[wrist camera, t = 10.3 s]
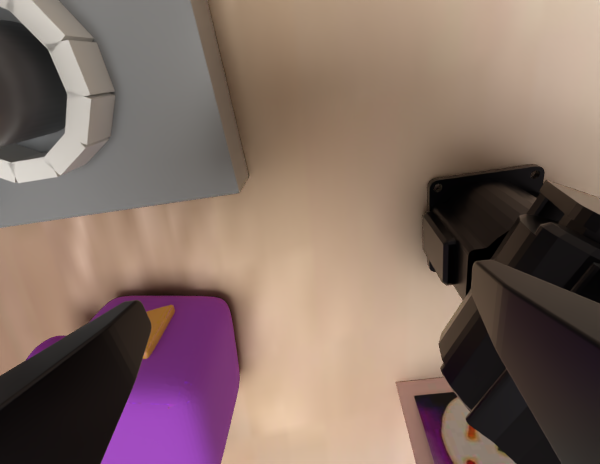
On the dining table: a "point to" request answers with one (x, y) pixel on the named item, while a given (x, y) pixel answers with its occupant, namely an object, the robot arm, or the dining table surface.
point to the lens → (28, 87)
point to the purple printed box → (443, 426)
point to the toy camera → (178, 384)
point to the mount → (124, 111)
